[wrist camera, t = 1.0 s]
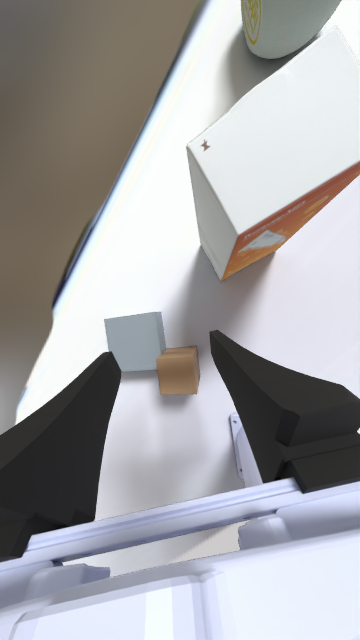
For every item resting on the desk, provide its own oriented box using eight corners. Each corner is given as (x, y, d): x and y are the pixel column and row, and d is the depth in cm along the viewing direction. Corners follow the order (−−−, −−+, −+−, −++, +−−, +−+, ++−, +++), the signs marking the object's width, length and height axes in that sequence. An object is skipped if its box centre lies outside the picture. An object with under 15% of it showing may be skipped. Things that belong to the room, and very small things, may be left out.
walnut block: (200, 375, 22) (197, 394, 17) (171, 376, 23) (160, 394, 18) (196, 346, 22) (192, 356, 17) (167, 348, 23) (155, 358, 18)
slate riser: (168, 361, 24) (163, 369, 21) (123, 365, 25) (112, 372, 22) (161, 311, 23) (154, 311, 20) (116, 318, 25) (104, 319, 22)
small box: (220, 282, 21) (236, 238, 8) (199, 243, 21) (181, 141, 8) (278, 250, 19) (412, 130, 6) (254, 208, 19) (337, 13, 7)
